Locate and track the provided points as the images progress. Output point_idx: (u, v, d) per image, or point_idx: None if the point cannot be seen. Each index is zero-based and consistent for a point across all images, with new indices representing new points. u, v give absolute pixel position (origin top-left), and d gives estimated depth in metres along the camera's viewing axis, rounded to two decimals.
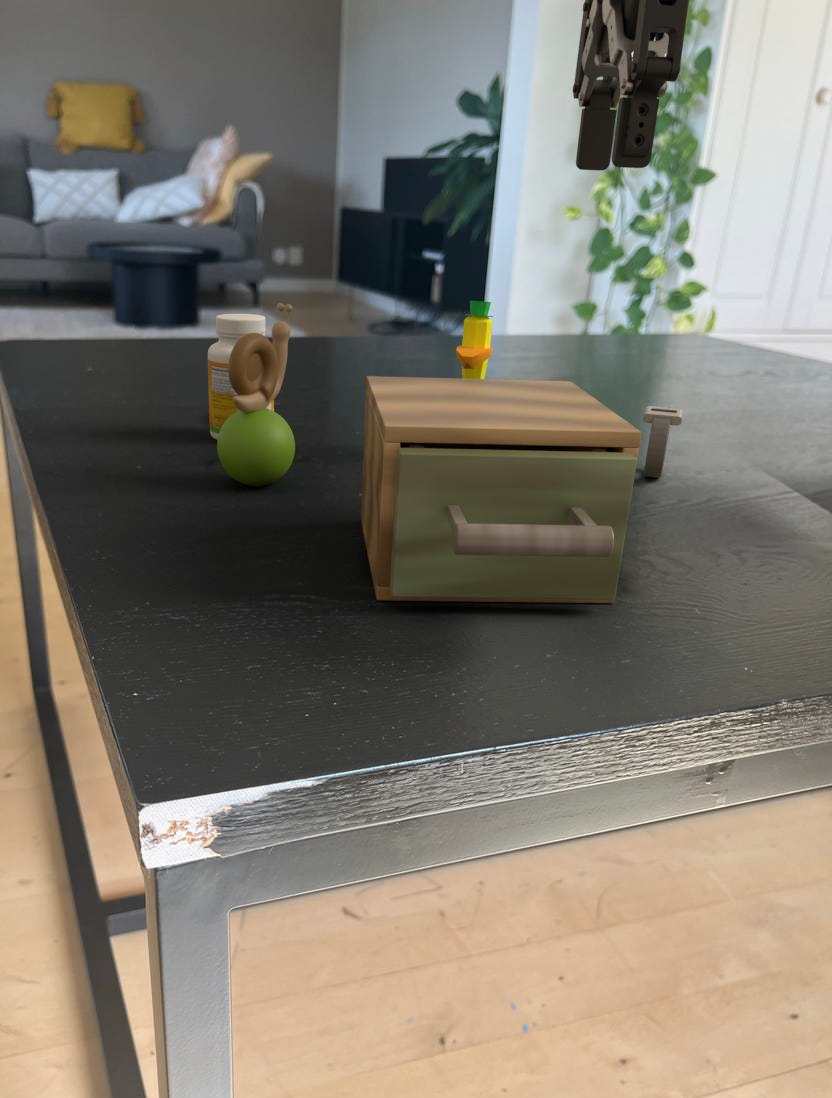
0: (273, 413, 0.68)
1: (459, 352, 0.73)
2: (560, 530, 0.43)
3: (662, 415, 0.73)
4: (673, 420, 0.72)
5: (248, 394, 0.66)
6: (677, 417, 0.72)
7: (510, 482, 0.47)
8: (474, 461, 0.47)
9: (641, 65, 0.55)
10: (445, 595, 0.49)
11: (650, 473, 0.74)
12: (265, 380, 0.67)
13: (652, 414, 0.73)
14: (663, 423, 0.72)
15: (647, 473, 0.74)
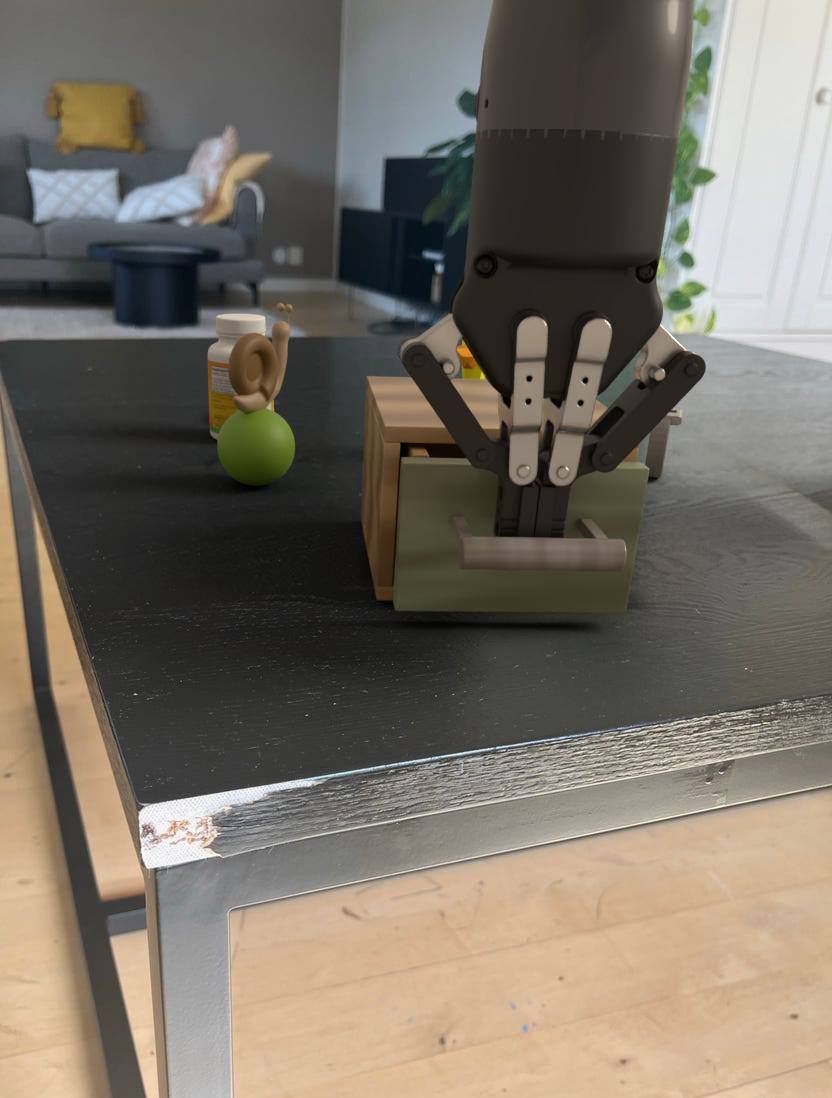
0: (273, 413, 0.68)
1: (459, 352, 0.73)
2: (570, 543, 0.42)
3: None
4: (673, 420, 0.72)
5: (248, 394, 0.66)
6: (677, 417, 0.72)
7: None
8: (480, 471, 0.45)
9: None
10: (450, 609, 0.48)
11: (650, 473, 0.74)
12: (265, 380, 0.67)
13: None
14: (663, 423, 0.72)
15: None
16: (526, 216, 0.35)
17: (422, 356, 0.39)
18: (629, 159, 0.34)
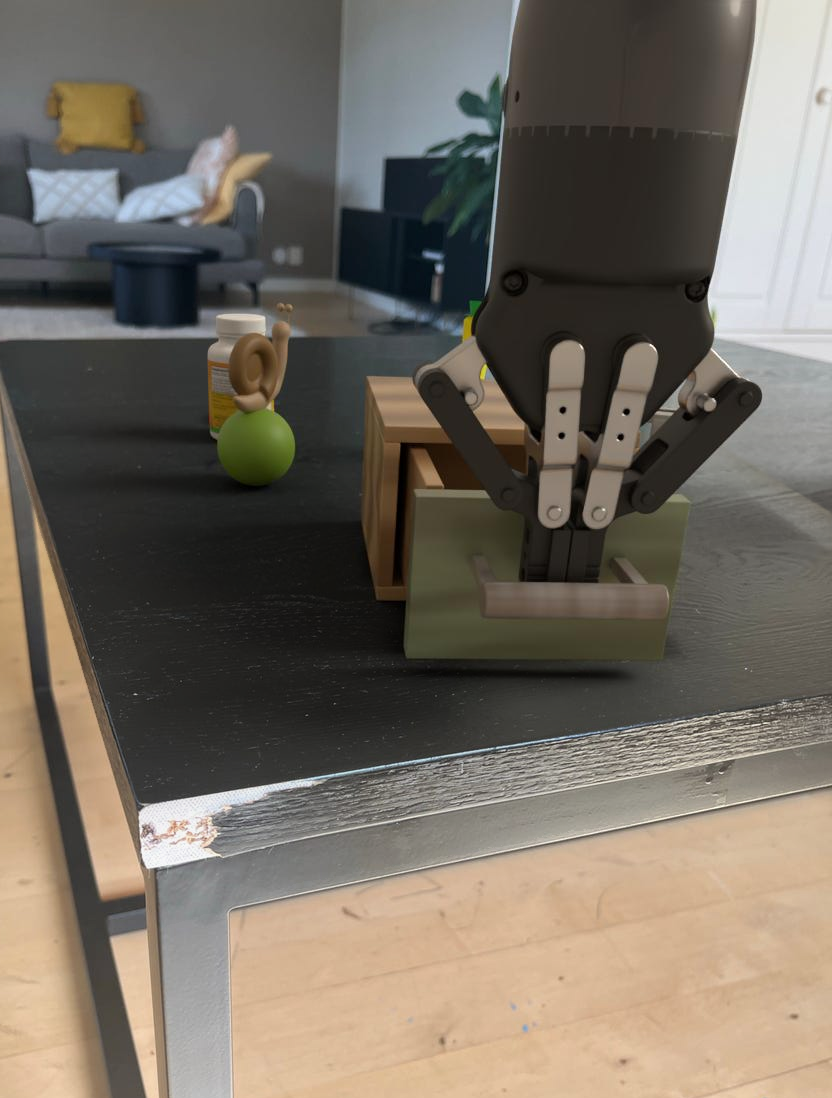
0: (273, 413, 0.68)
1: None
2: (606, 590, 0.37)
3: (662, 415, 0.73)
4: None
5: (248, 394, 0.66)
6: None
7: None
8: None
9: None
10: (467, 656, 0.43)
11: None
12: (265, 380, 0.67)
13: None
14: (663, 423, 0.72)
15: None
16: (563, 227, 0.31)
17: (441, 385, 0.34)
18: (684, 161, 0.30)
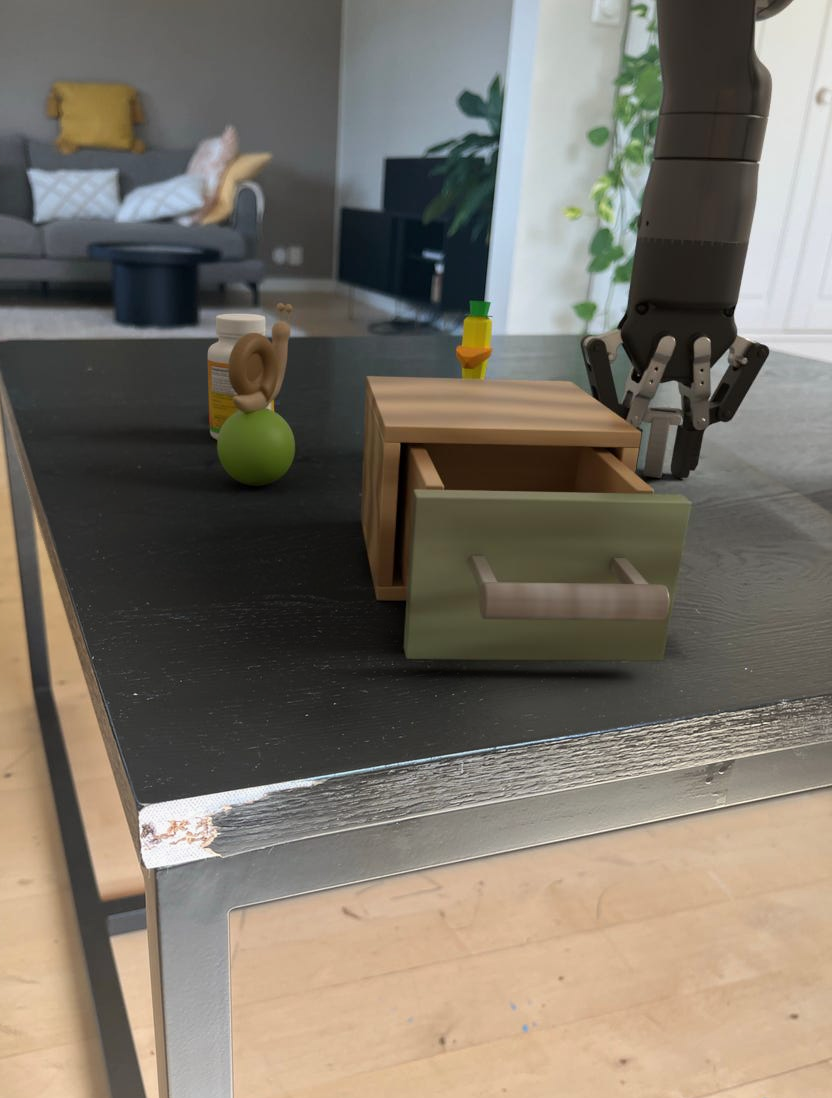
0: (273, 413, 0.68)
1: (459, 352, 0.73)
2: (607, 590, 0.37)
3: (661, 415, 0.73)
4: (673, 420, 0.72)
5: (248, 394, 0.66)
6: (676, 417, 0.72)
7: (545, 529, 0.41)
8: (503, 506, 0.40)
9: None
10: (467, 657, 0.43)
11: (650, 473, 0.74)
12: (265, 380, 0.67)
13: (651, 414, 0.73)
14: (663, 423, 0.72)
15: (647, 473, 0.74)
16: (669, 283, 0.67)
17: (600, 346, 0.70)
18: (725, 255, 0.66)
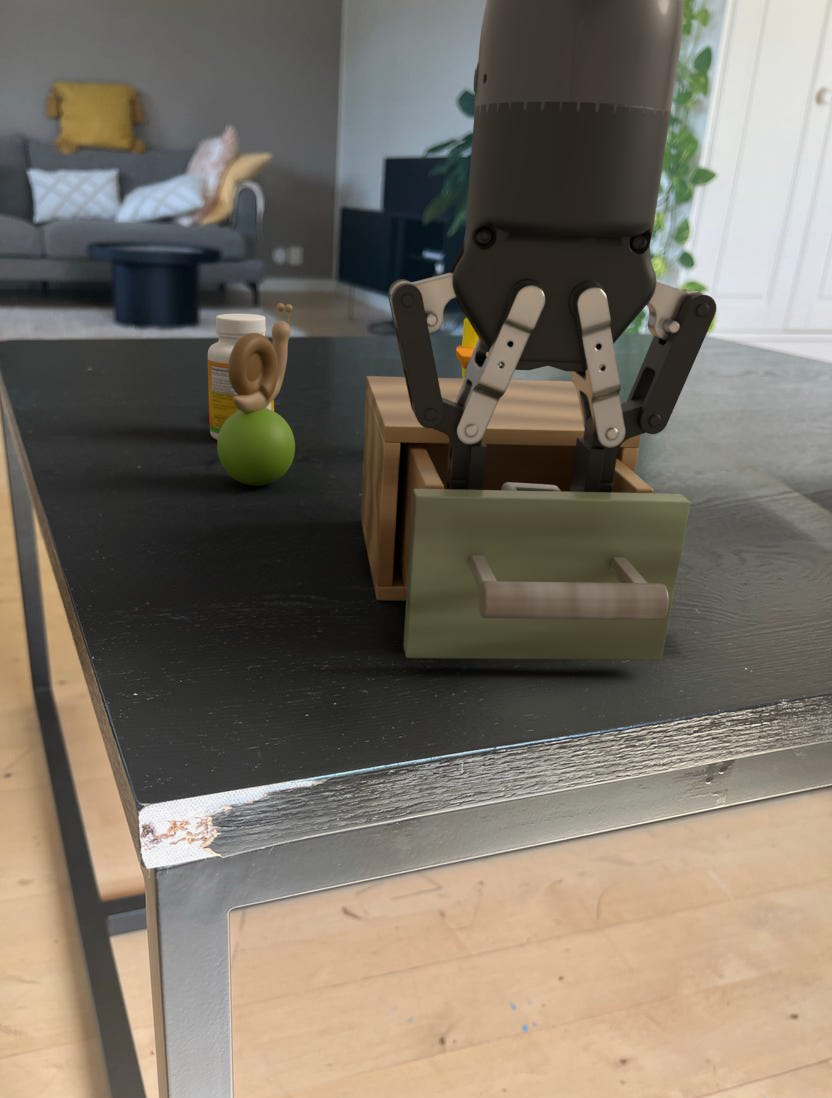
0: (273, 413, 0.68)
1: (459, 352, 0.73)
2: (606, 589, 0.37)
3: None
4: None
5: (248, 394, 0.66)
6: None
7: (544, 529, 0.41)
8: (502, 505, 0.40)
9: (411, 402, 0.44)
10: (467, 656, 0.43)
11: None
12: (265, 380, 0.67)
13: None
14: None
15: None
16: (524, 187, 0.37)
17: (412, 298, 0.40)
18: (623, 131, 0.36)
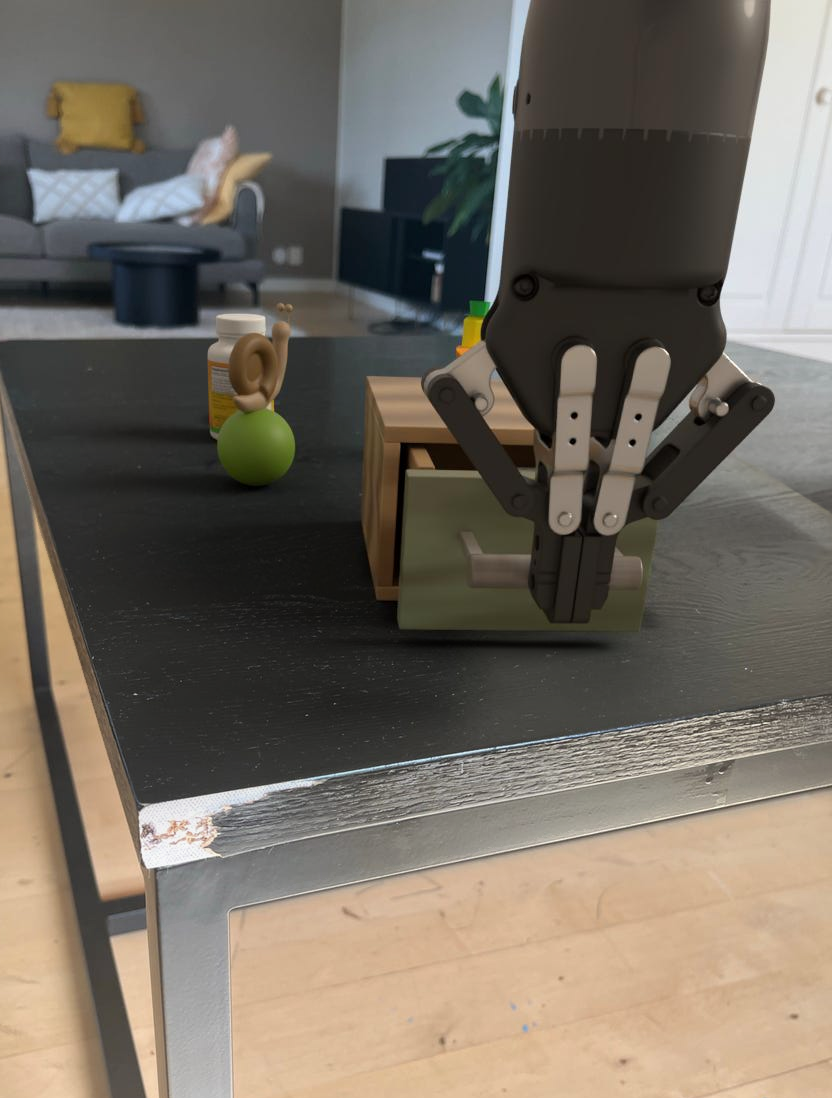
0: (273, 413, 0.68)
1: (459, 352, 0.73)
2: None
3: None
4: None
5: (248, 394, 0.66)
6: None
7: None
8: None
9: None
10: (457, 627, 0.46)
11: None
12: (265, 380, 0.67)
13: None
14: None
15: None
16: (576, 230, 0.30)
17: (451, 390, 0.34)
18: (699, 163, 0.29)
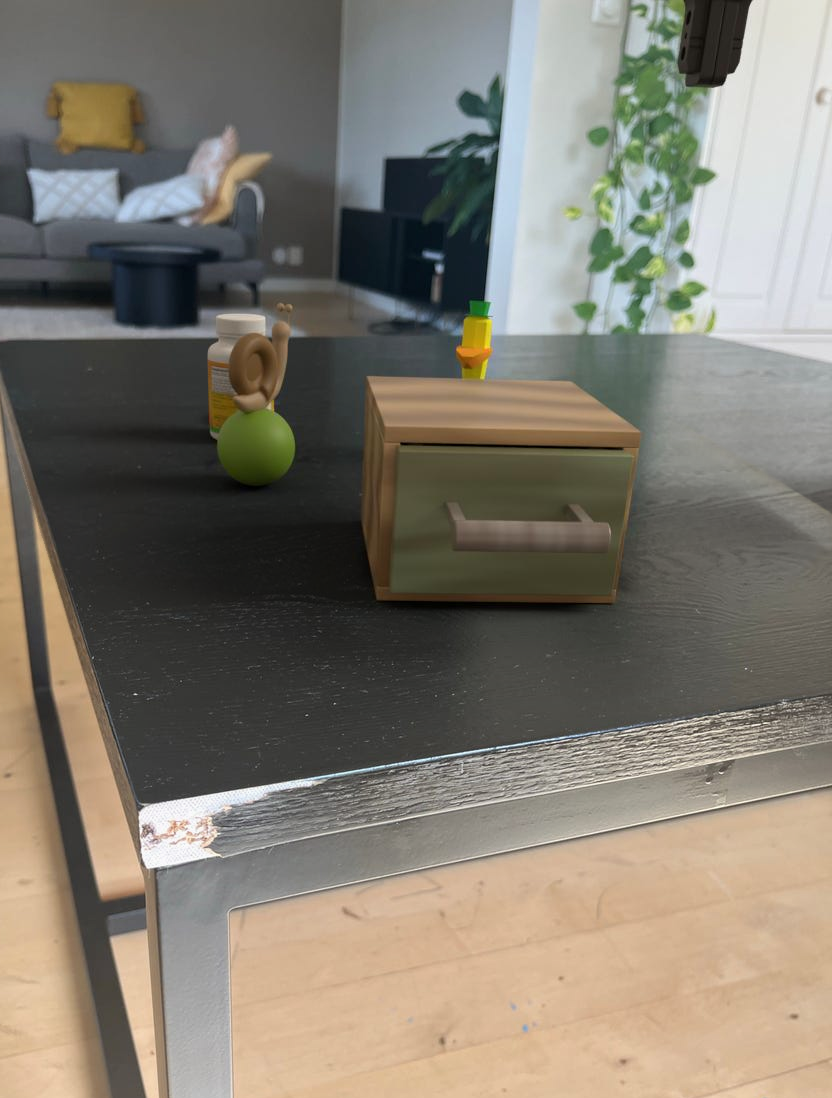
0: (273, 413, 0.68)
1: (459, 352, 0.73)
2: (558, 526, 0.44)
3: None
4: None
5: (248, 394, 0.66)
6: None
7: (508, 479, 0.47)
8: (472, 458, 0.47)
9: None
10: (444, 591, 0.50)
11: None
12: (265, 380, 0.67)
13: None
14: None
15: None
16: None
17: None
18: None
